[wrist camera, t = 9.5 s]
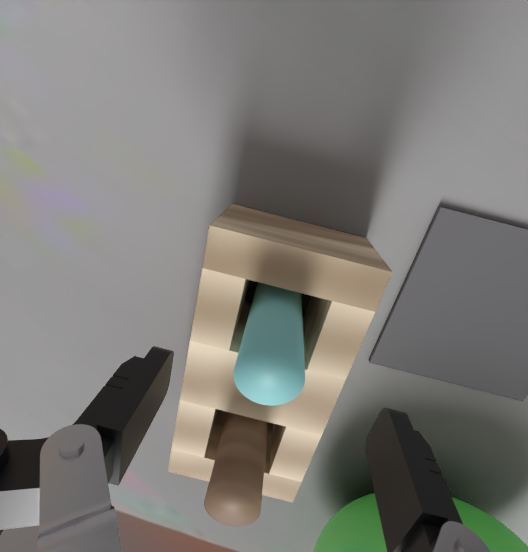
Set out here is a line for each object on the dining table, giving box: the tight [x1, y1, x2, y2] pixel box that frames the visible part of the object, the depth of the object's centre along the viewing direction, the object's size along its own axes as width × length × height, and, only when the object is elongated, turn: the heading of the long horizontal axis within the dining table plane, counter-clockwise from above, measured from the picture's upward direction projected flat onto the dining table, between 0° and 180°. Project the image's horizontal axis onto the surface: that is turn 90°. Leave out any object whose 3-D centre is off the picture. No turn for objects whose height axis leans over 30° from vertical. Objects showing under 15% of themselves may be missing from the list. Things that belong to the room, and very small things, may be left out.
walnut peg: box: [204, 412, 269, 526], centre depth 21 cm, size 3×3×10 cm
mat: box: [369, 207, 528, 401], centre depth 22 cm, size 12×12×1 cm
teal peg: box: [233, 282, 305, 406], centre depth 18 cm, size 3×3×10 cm
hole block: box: [168, 204, 392, 502], centre depth 21 cm, size 18×9×6 cm, turn 167°
